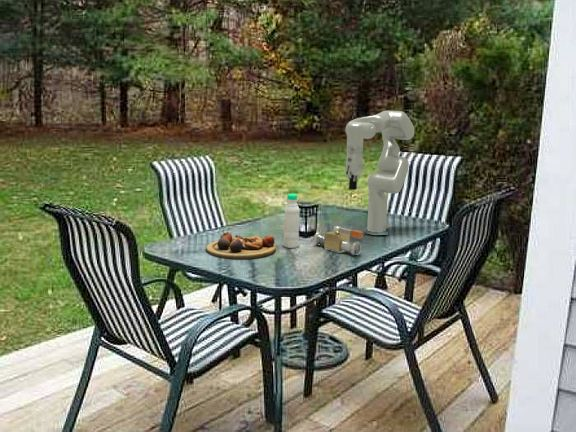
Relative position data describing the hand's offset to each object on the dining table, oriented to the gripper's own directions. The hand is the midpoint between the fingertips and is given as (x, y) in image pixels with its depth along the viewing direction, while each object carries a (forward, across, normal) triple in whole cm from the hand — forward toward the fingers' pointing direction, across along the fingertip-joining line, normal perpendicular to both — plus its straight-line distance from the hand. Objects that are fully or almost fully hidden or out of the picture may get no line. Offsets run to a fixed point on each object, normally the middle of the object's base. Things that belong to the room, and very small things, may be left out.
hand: (352, 189), depth 293 cm
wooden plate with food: (+28, -37, +37) cm, 60 cm away
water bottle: (+27, -19, +22) cm, 40 cm away
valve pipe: (+27, -12, +1) cm, 30 cm away
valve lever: (+19, -14, -5) cm, 24 cm away
